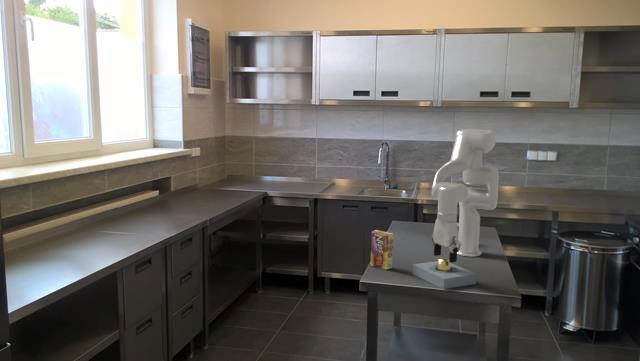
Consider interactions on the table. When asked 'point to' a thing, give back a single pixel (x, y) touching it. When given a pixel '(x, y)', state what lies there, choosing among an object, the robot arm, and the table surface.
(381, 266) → the candy box
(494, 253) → the table surface
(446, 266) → the bushing
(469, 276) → the plate
